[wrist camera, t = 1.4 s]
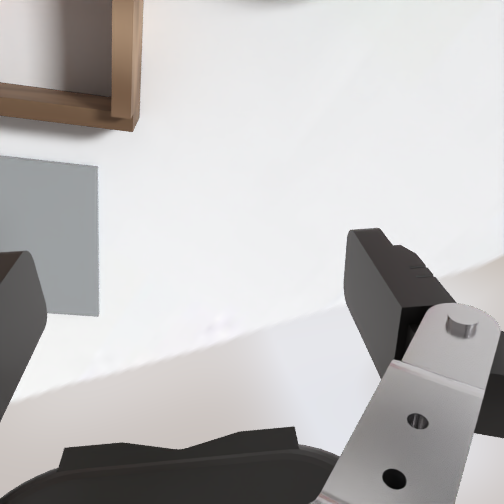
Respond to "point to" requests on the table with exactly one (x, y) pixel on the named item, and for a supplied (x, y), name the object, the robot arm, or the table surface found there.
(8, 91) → the frame
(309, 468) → the robot arm
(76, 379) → the table surface
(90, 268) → the gray square base plate
